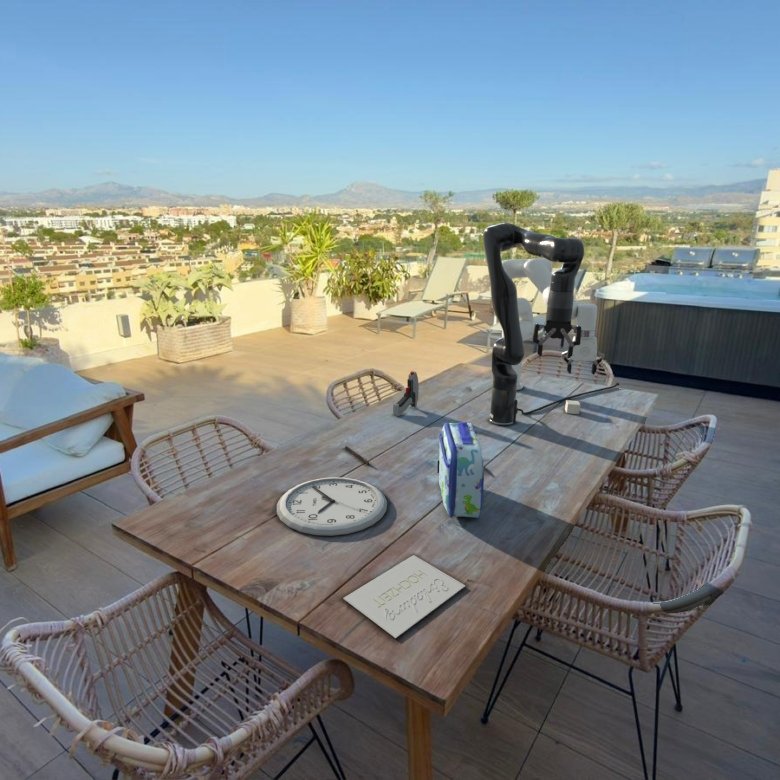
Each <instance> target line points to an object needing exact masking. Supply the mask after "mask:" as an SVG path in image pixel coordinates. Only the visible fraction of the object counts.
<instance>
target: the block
mask: <svg viewBox="0 0 780 780" xmlns="http://www.w3.org/2000/svg"><path fill="white" fill-rule="evenodd" d="M564 411H565V413H566V414H571V415H580V411H581V403H580V402H579V400H570V399H567V400H565V407H564Z"/></svg>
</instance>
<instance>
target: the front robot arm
mask: <svg viewBox="0 0 780 780" xmlns="http://www.w3.org/2000/svg"><path fill="white" fill-rule="evenodd" d="M482 245H483V251H484V256H485V260H486V261H485V262H486V265H487V271H488V278H489V279H488V280H489V287H490V299H491V308H492V310H493V313H494V315H495V316H496V319H497V321H498V323H499V325H500V327H501V329H503V333H504V338H502V337H499V338H498V339H497V340H496V341H495V342H494V344H493V345H492V350H491V373H492V388H491V399H490V410H489V411H490V413H489V422H490V423H491V424H494V425H497V426H511V425H513V424H516V423H517V414H518V411H519V412H521V414H522V415H524V416H525V415H529V414H530V415H531V414H532V413H535V412H538V411H540V410H544V409H545V408H547V407H550V406H553V405H555V404H558V403H561V402H563V401H566V400H570V399H573V398H576V397H581V396H584V395H585V396H586V395H588V394H593V393H596V392H601V391H604V390H610V389H614V388H616V387H617V386H620V383H619V382H616V383H615V385H612V386H608V387H603V388H598V389H595V390H590V391H585V392H582V393H578V394H574V395H570V396H567V397H564V398H561V399H557V400H555V401H553V402H550V403H548V404H546V405H543V406H540V407H538V408H535V409H532V410H530V411H527V412H524V410H523V409H521V408H518V399H517V390H516V389H517V379H518V375H517V373H516V372H515V370H514V369H513V367H512V365H518V364H519V363H520V362H521V361H522V362H523V359H524V357H525V345H524V340H523V339H522V334H521V329H520V321H519V312H518V298H519V297H518V292H517V291H518V289H517V285H516V283H515V282H514V280H513V278H512V279H511V278H510V276H509V275H508V274H507V273H506V271H505V270H504V268H503V265H502V261H503V260H502V254H501V253H502V252H505V251H509V250H511V249H515V248H516V249H517V248H520V249H523V250H524V251H525V252H526V253H527V254H528V255H531V256H533V257H537V258H545V259H547V260H549V261H550V262H551V263H552V262H553V263H561V264H562V265H561V268H560V269H558V270H555V271H552V276H551V285H550V292H549V297H548V302H547V308H546V314H545V322H544V323H539V322H534V324H535V327H534V333H533V337H532V338H531V340H532V343H534V344H537V350H536V354H537V355H538V357H541V358H542V357H543V349H544V343H545V342H547V340H549V338H550V339H553V340H554V339H559V340H563V339H565V341H566V342H567V343H568V345H567V350H566V351H567V355H566V358H567V359H570V357H572V354H573V347H574V346H576V345H580V341H581V326H580V325H577V326H576V325H572V320H571V318H572V310H573V302H574V300H575V285H576V277H577V275H578V273H579V270H580V268H581V265H582V262H583V260H584V257H585V245H584V242H583V241H582V240H581V239H579V238H576V237H555V236H554V235H551V234H547V233H541V232H534V231H530V230H527V229H525V228H522V227H520V226H518V225H516V224H513V223H510V222H503V223H498V224H495V225H490V226H488V227H486V228H485V229H484V230H483V233H482ZM517 297H518V298H517ZM542 329H544V331H545V333H544V334H543V335H542V336H541V337H540V338H539V339H538V337H539V332H541V331H542ZM572 331H574V332H575V333H576V336H575V335H574V336H575V341H573V339H571V337H570V336H569V334H570V332H572Z"/></svg>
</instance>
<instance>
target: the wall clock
mask: <svg viewBox="0 0 780 780" xmlns="http://www.w3.org/2000/svg"><path fill="white" fill-rule="evenodd" d="M387 509H388V500H387V498H386V496H385V494H384V493H383V492H382V491H381V490H380V489H379V488H377V487H376V486H374V485H372V484H371V483H369V482H365V481H362V480H359V479H355V478H349V477H338V476H337V477H335V476H333V477H332V476H331V477H322V478H317V479H312V480H307V481H305V482H302V483H299V484H297V485H295V486H293V487H292V488H290V489H288V490H287V491H286V492H285V493H284V494H283V495H281V496H280V498H279V499H278V502H277V503H276V515H277V517H278V518H279V520H280V521H281V522H282V523H283V524H285V525H286V526H287V527H288V528H290V529H293V530H295V531H297V532H299V533H303V534H308V535H312V536H327V537H328V536H329V537H331V536H332V537H333V536H342V535H350V534H352V533H356V532H361V531H363V530H366V529H368V528H369V527H372V526H373V525H375V524H376V523H378V522H379V521H380V520H381V519H382V518H383V517H384V516H385V514H386V512H387Z"/></svg>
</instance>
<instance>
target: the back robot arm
mask: <svg viewBox="0 0 780 780" xmlns="http://www.w3.org/2000/svg"><path fill="white" fill-rule="evenodd" d="M501 261H502V265H503V268H504V270H505V271H506V273H507V274H508V275H509V276H510V278H511V279H512V280H513V279H521V278H527V279H528V280H529V281H530V282H531V283H532V284H533V286H535V288H536V289H537V290H538V291H539V292H540V293H541V298H542V302H543V305H544V307H545V308H546V309H547V302H548V297H549V292H550V285H551V276H552V274H553V267H554V266H553V264H552V261H549V260H547V259H545V258H542V257H537V258H509V259H505V260H501ZM517 298H518V312H519V321H520V329H521V334H522V339H523V341H527V340H530V339H533V333H534V327H535V319H534V314H533V309H532V305H531V303H530V301H529V300H528V299H527V298H525V297H518V296H517ZM597 318H598V306H597V305H596V304H595V303H584V302H580V301H574V302H573V310H572V318H571V321H572V320H576V325H575V326H577V325H580V326H581V341H580V345H576V346H574V347H573V354H572V357H570V358H567V350H566V351H564V352H562V353H561V357H562V359H563V360H564V362H565V363H566V372H567V373H568V374H569V375H570V374H572V366H573V365H572V363H573V362H592V364H591V371H590V372H591V374H592V375H596V373H597V369H598V365H599V364H601V362H603V360H604V358H605V356H606V355H605V354H604V353H602V352H600V351H599V350H598V339H597V337H596V326H597ZM501 329H502V328H501ZM571 334H572V335H574V336H573V337H572V341H575V336H576V333H575V332H574V330H571ZM501 338H504V333H503V329H502V330H501ZM597 356H599V358H597ZM522 365H523V360H522V361H521V362H520V363H519V364H518V365H512V367H513V369H514V370H515V372H516V373H517V375H518V379H517V389H516V391H520V390H522V389H523V388H524V385H523V383H521V377H522V368H523V366H522Z"/></svg>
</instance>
